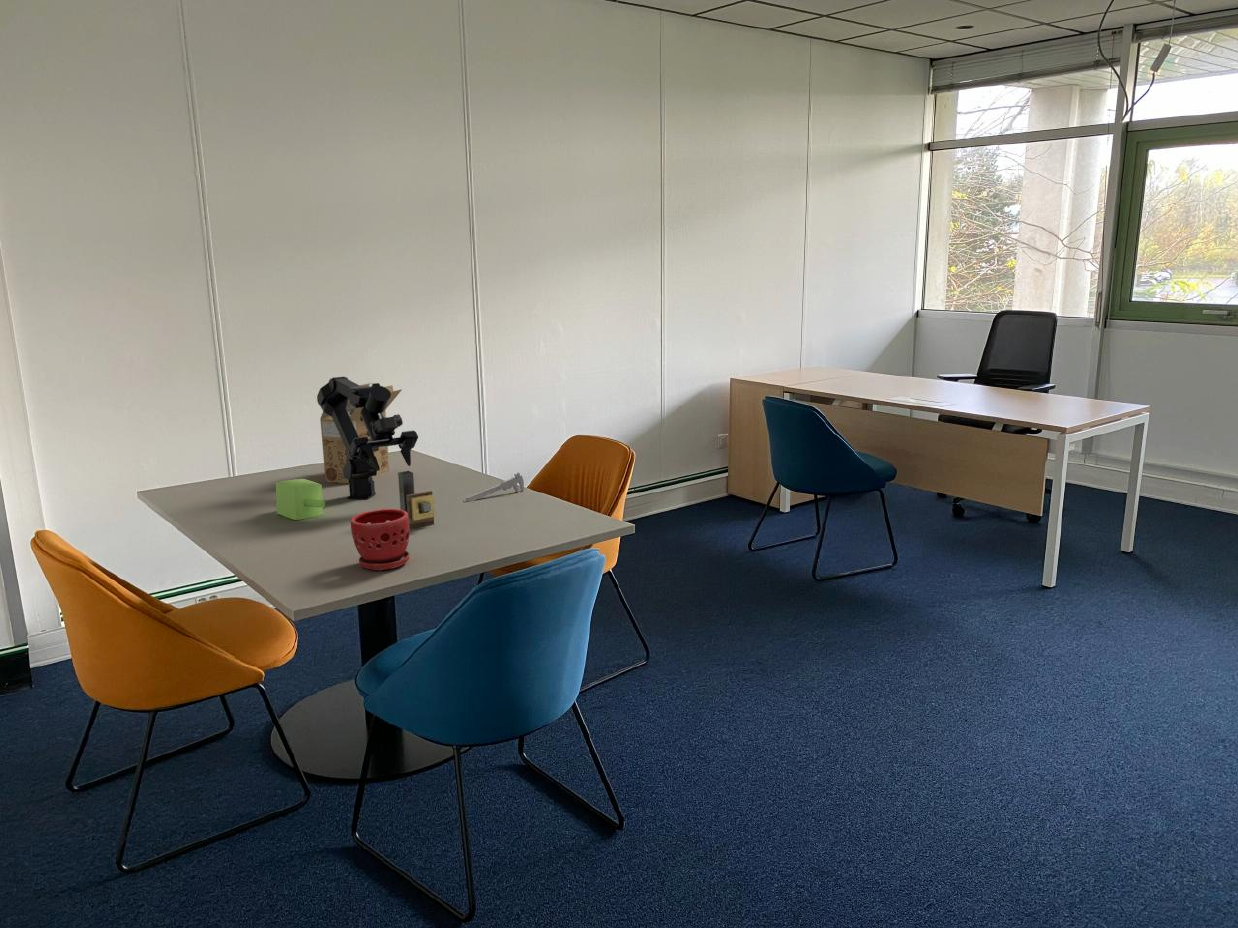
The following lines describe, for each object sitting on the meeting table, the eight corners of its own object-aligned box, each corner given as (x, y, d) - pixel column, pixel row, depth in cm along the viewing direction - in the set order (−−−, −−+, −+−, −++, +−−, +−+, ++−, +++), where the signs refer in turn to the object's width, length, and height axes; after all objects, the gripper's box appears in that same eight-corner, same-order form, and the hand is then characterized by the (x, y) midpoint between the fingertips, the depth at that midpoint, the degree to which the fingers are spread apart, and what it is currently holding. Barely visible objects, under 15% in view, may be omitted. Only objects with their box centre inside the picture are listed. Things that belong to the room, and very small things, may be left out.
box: (371, 485, 295) (364, 391, 288) (319, 481, 302) (311, 389, 295) (407, 471, 314) (402, 383, 307) (358, 467, 321) (352, 381, 314)
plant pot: (393, 552, 227) (390, 504, 224) (422, 564, 218) (419, 515, 215) (344, 564, 218) (340, 515, 216) (371, 577, 209) (367, 526, 206)
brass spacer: (412, 519, 246) (410, 497, 245) (432, 515, 250) (431, 494, 248) (414, 520, 245) (412, 498, 244) (434, 516, 249) (433, 494, 247)
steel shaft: (401, 518, 256) (398, 472, 253) (411, 516, 257) (408, 470, 255) (423, 529, 245) (420, 481, 242) (434, 527, 247) (431, 479, 244)
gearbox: (337, 518, 260) (336, 485, 258) (304, 524, 252) (303, 490, 251) (303, 506, 271) (302, 474, 270) (271, 512, 264) (270, 479, 262)
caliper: (522, 491, 286) (521, 471, 285) (524, 492, 285) (523, 472, 284) (462, 502, 274) (461, 481, 273) (464, 503, 273) (463, 482, 272)
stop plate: (404, 525, 250) (402, 493, 248) (428, 521, 254) (426, 489, 252) (410, 528, 247) (407, 495, 245) (434, 523, 251) (432, 491, 249)
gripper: (350, 409, 254) (369, 455, 248) (413, 402, 265) (433, 446, 259) (341, 434, 262) (359, 478, 255) (403, 426, 273) (422, 469, 266)
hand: (394, 467), depth 259 cm, fingers open, 9 cm apart
